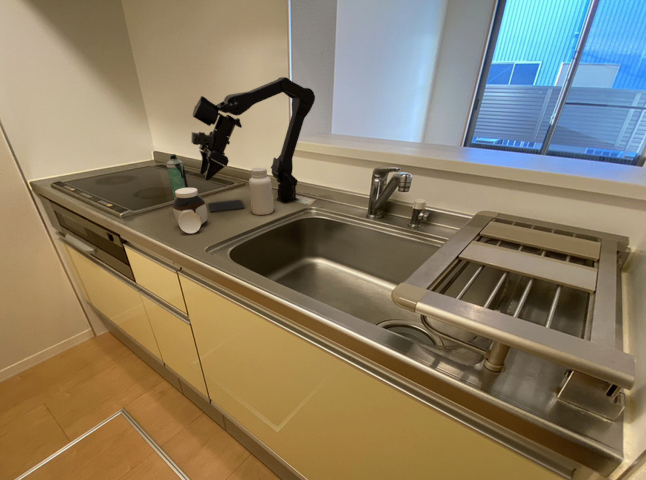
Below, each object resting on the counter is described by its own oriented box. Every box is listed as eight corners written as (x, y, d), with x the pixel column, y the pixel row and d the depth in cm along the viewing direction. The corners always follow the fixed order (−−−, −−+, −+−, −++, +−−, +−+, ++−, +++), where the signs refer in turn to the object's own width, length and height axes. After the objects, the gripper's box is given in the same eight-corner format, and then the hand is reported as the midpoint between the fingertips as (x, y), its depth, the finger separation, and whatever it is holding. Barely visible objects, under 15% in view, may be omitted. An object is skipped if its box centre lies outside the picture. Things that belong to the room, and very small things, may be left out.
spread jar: (200, 218, 120) (193, 185, 113) (218, 226, 113) (212, 191, 107) (168, 228, 113) (159, 193, 106) (186, 237, 106) (178, 200, 100)
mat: (239, 200, 136) (239, 199, 136) (243, 208, 128) (243, 207, 128) (209, 204, 133) (209, 203, 133) (211, 212, 125) (211, 211, 125)
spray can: (196, 211, 126) (184, 153, 115) (186, 216, 122) (173, 156, 111) (184, 209, 128) (172, 152, 117) (174, 213, 124) (160, 155, 113)
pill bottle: (254, 207, 129) (250, 166, 120) (275, 208, 128) (273, 166, 119) (249, 215, 122) (244, 171, 114) (271, 215, 121) (268, 172, 113)
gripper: (194, 117, 117) (177, 160, 121) (204, 123, 102) (185, 172, 107) (223, 134, 123) (206, 175, 128) (237, 142, 109) (217, 187, 113)
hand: (203, 176), depth 119 cm, fingers open, 9 cm apart
